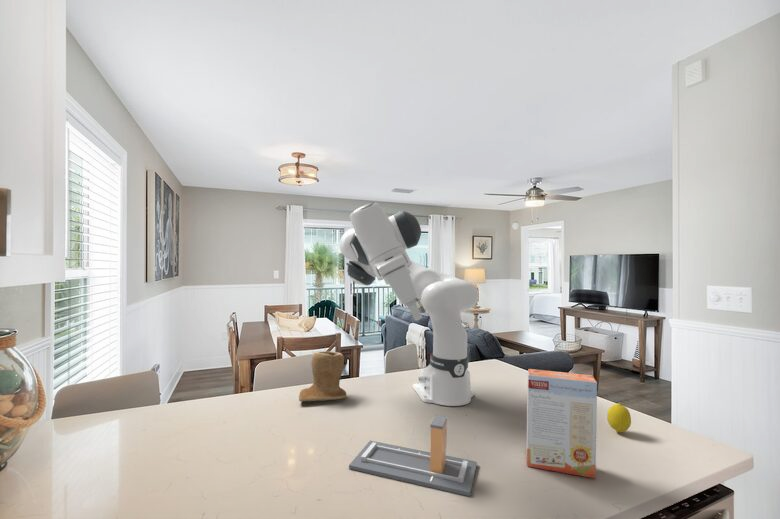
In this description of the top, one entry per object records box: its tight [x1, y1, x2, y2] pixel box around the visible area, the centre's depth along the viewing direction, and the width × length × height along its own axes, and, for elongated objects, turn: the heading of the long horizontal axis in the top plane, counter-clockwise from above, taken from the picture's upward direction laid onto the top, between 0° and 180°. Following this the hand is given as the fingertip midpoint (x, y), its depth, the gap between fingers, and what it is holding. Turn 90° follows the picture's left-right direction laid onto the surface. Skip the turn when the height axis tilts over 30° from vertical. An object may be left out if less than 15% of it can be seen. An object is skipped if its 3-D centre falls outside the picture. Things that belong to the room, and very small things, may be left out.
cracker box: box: [526, 368, 598, 479], centre depth 86 cm, size 14×6×21 cm, turn 71°
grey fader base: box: [348, 440, 478, 497], centre depth 85 cm, size 26×12×2 cm, turn 71°
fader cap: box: [430, 414, 448, 474], centre depth 83 cm, size 3×5×10 cm, turn 160°
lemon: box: [606, 403, 632, 434], centre depth 104 cm, size 6×6×8 cm
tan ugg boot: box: [298, 351, 347, 402], centre depth 124 cm, size 15×12×15 cm
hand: (419, 319), depth 88 cm, fingers closed
